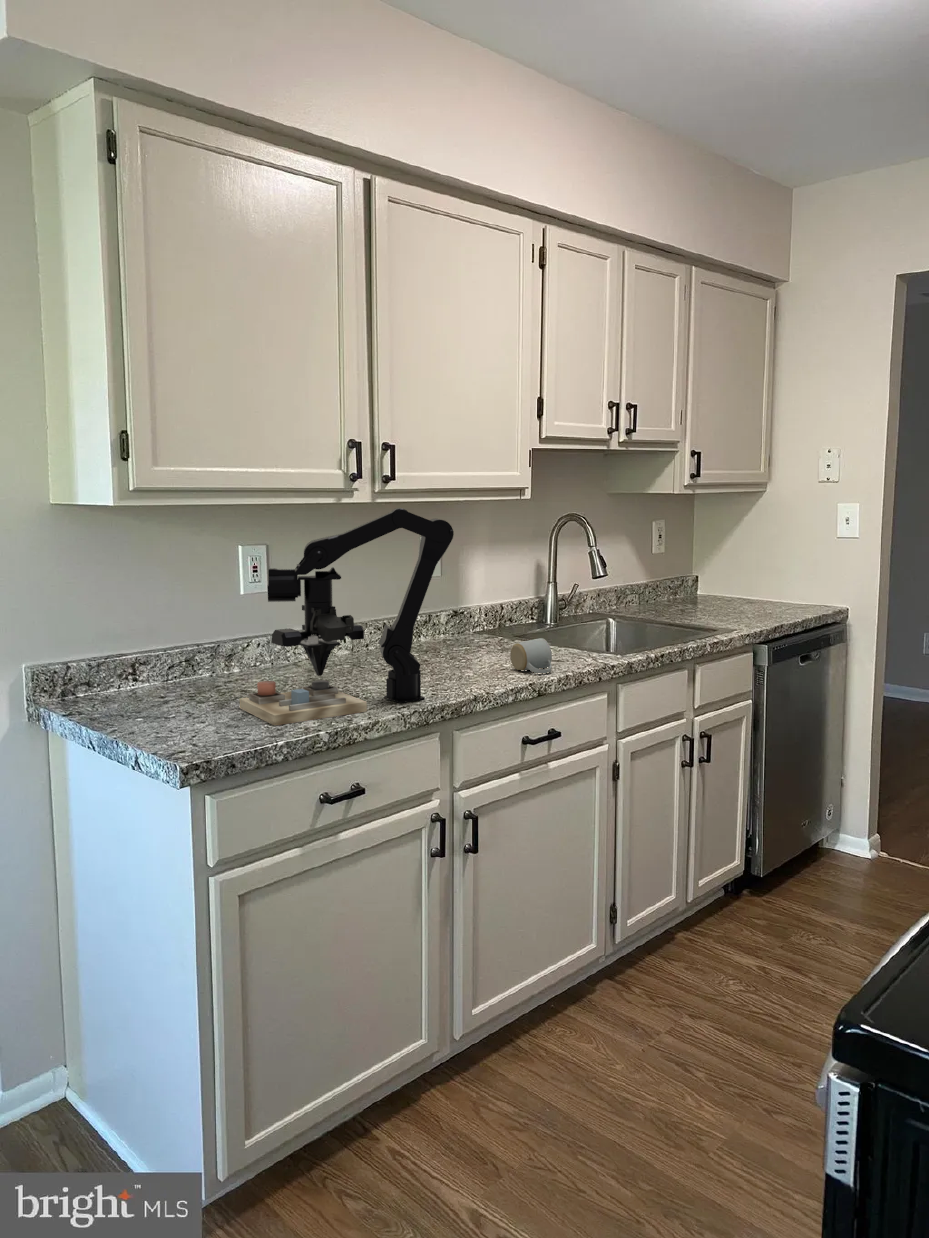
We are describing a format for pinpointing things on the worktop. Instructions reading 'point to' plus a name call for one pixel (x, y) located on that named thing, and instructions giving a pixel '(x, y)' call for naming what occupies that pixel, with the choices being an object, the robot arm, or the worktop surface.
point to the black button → (320, 684)
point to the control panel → (302, 706)
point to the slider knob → (299, 696)
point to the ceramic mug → (532, 656)
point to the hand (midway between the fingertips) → (319, 675)
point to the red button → (266, 688)
